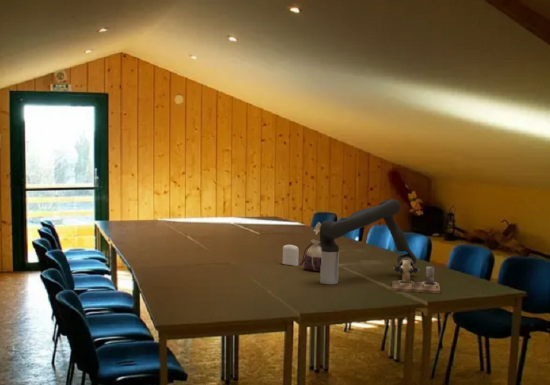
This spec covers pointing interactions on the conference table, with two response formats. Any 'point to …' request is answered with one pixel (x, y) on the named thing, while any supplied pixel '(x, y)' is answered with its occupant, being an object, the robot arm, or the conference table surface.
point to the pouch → (312, 256)
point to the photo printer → (290, 255)
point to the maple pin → (406, 271)
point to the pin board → (419, 284)
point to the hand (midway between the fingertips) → (406, 271)
